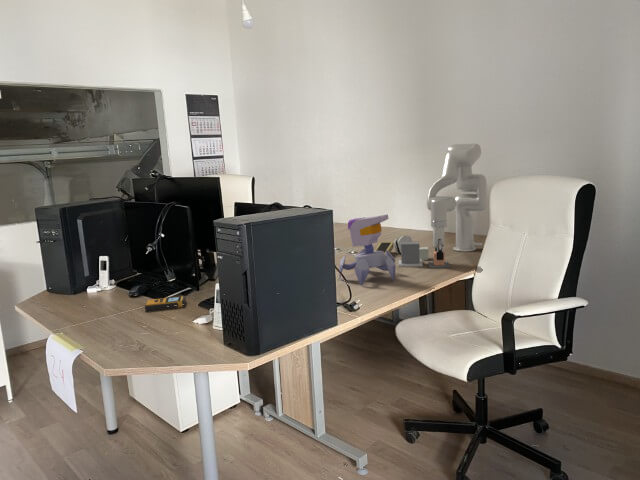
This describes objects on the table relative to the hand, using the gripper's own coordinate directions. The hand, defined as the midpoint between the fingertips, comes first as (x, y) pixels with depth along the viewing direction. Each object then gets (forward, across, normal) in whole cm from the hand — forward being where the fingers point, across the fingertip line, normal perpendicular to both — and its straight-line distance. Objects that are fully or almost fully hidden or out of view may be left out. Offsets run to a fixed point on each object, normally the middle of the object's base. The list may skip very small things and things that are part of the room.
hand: (439, 257), depth 245 cm
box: (+5, -23, -29) cm, 37 cm away
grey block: (+4, -15, -7) cm, 17 cm away
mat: (+4, 0, 0) cm, 4 cm away
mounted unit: (+4, -4, -14) cm, 15 cm away
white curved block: (+5, -36, -16) cm, 40 cm away
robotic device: (+4, +22, -33) cm, 40 cm away
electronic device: (+4, +63, -115) cm, 131 cm away
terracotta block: (+3, 0, 0) cm, 3 cm away
